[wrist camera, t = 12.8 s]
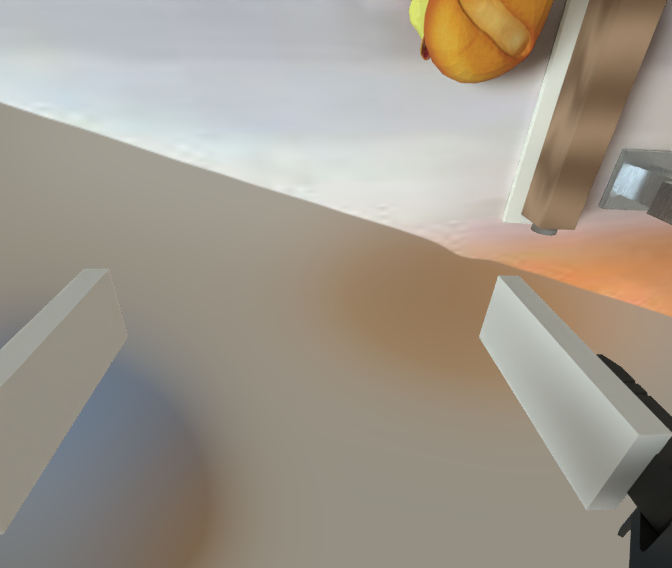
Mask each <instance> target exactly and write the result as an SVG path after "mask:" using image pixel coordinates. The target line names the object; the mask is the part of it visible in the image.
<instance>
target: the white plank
mask: <svg viewBox="0 0 672 568" xmlns="http://www.w3.org/2000/svg"><path fill="white" fill-rule="evenodd" d="M588 3H589V0H567V2H566V5H565V9H564V12H563V16H562V19H561V22H560V26H559V29H558V32H557V36H556V39H555V43H554V46H553V49H552V53H551V56H550V60H549V63H548V66H547V70H546V73H545V76H544V80H543V83H542V87H541V90H540V93H539V97H538V100H537V104H536V107H535V110H534V114H533V117H532V120H531V124H530V127H529V131H528V134H527V137H526V141H525V144H524V148H523V151H522V154H521V158H520V161H519V164H518V168H517V171H516V175H515V178H514V181H513V185H512V188H511V192H510V195H509V198H508V202H507V205H506V208H505V212H504V215H503V219H502V221H503V222H504V223H532V222H531V221H530V220H528V219H527V218H525V217H524V216H523V215H521V212H522V209H523V206H524V203H525V200H526V197H527V194H528V191H529V187H530V184H531V181H532V178H533V175H534V172H535V169H536V165H537V162H538V159H539V156H540V153H541V150H542V147H543V144H544V140H545V137H546V134H547V131H548V128H549V125H550V122H551V119H552V115H553V112H554V109H555V106H556V103H557V100H558V97H559V93H560V90H561V87H562V84H563V81H564V78H565V75H566V72H567V68H568V65H569V62H570V59H571V56H572V53H573V50H574V46H575V43H576V40H577V37H578V34H579V31H580V28H581V25H582V21H583V18H584V15H585V12H586V9H587V6H588Z"/></svg>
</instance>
